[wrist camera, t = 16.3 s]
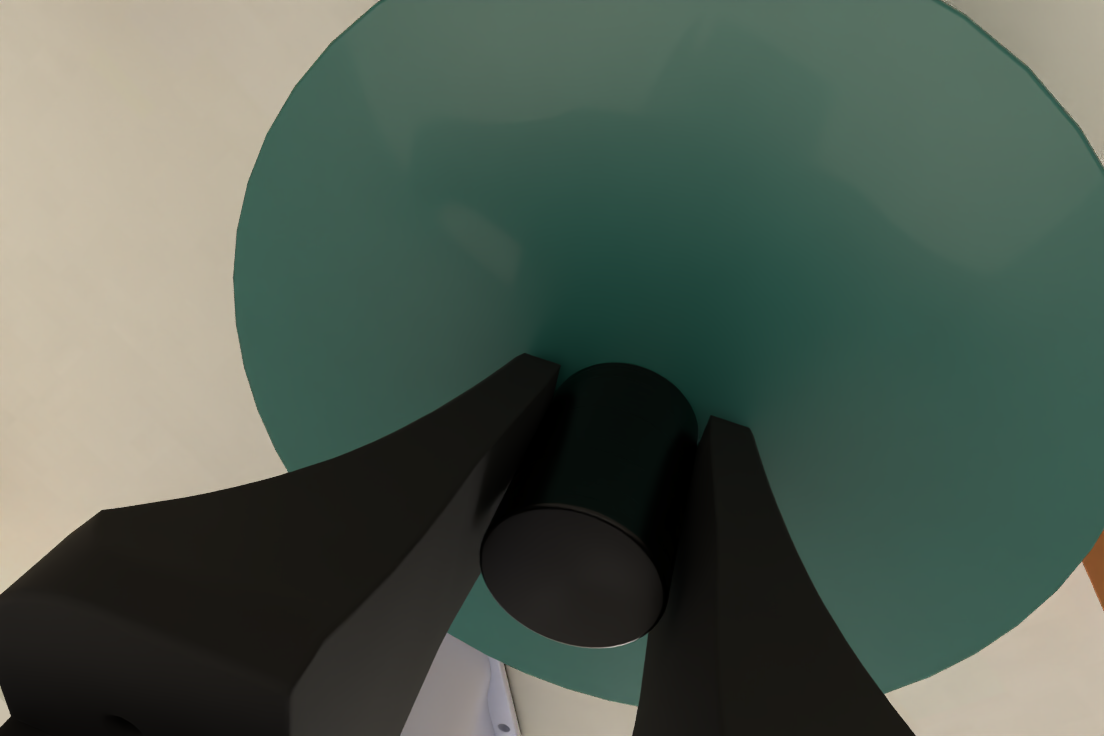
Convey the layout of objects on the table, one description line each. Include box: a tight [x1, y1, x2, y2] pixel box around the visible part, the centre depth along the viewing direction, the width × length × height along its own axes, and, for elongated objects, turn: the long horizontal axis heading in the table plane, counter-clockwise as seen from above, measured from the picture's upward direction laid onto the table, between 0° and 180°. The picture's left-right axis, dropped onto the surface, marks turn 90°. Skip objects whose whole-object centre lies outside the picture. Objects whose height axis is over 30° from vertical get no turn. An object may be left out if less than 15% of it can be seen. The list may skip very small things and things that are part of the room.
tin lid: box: [233, 0, 1104, 706], centre depth 11 cm, size 14×14×4 cm
